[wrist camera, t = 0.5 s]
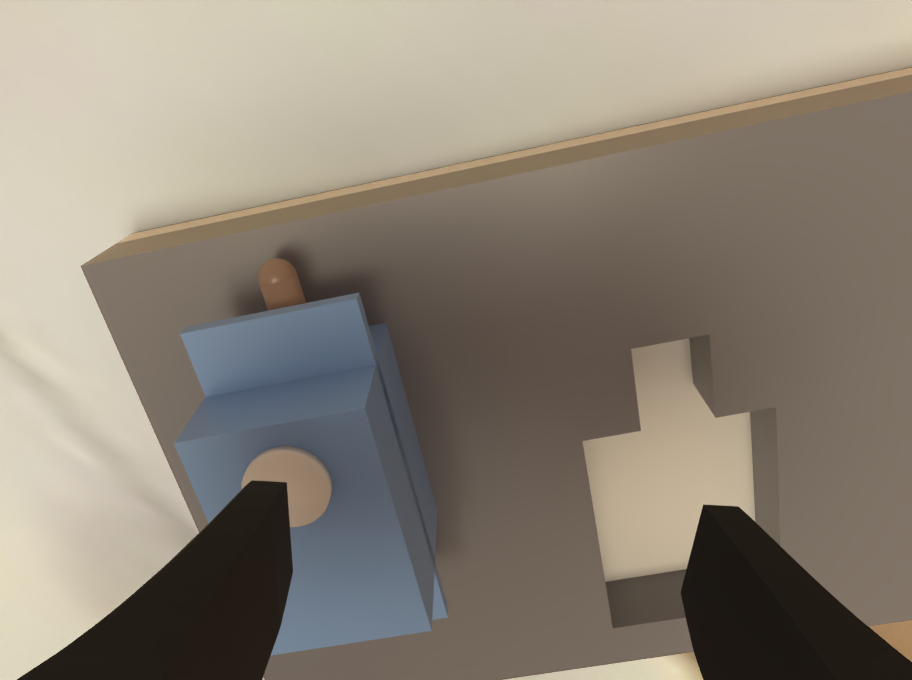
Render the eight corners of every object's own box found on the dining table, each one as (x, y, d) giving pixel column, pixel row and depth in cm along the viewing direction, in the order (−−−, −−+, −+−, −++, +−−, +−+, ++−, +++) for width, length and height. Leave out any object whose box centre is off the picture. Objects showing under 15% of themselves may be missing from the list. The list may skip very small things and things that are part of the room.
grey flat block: (298, 641, 26) (279, 712, 24) (132, 233, 20) (80, 266, 17) (905, 546, 24) (962, 612, 22) (934, 62, 18) (1018, 68, 15)
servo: (319, 575, 21) (284, 713, 17) (203, 263, 17) (119, 341, 13) (449, 554, 21) (446, 690, 17) (361, 230, 17) (327, 299, 13)
